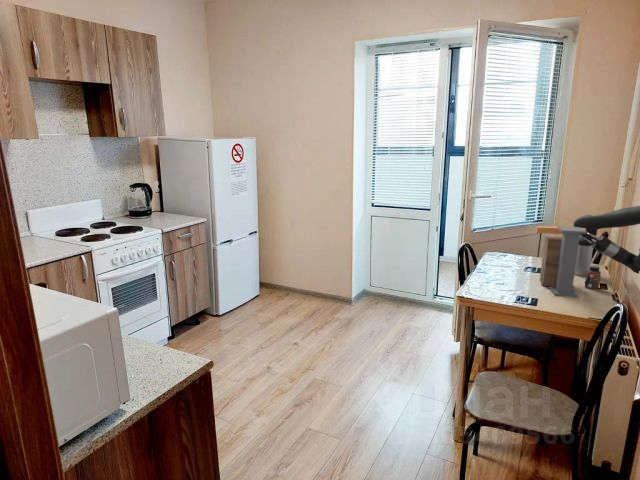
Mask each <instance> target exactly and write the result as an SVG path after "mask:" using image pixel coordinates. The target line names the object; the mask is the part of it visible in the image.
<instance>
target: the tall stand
mask: <svg viewBox="0 0 640 480" xmlns="http://www.w3.org/2000/svg"><path fill="white" fill-rule="evenodd" d="M557 227H558V229H559V230H560V231H561V232H562V233H563V234H561V236H562V242H561V250H560V258H559V266H558V274H557V282H556V287H549V288H550V291H551V292H552V294H553V296H559V297H567V296H568V298H569V297H570V298H578V294H577V293H576V291H575V290H574V288H573V287H574V280H575V267H576V259H577V252H578V245H579V237H580V234H586V231H585V230H584V229H582V228H580V227H574V226H561V225H560V226H557Z"/></svg>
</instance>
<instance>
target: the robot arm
mask: <svg viewBox="0 0 640 480" xmlns="http://www.w3.org/2000/svg"><path fill="white" fill-rule="evenodd" d="M636 225H640V205H637V206H630V207H624V208H620V209H616V210H612V211H608V212H606V213H602V214H597V215H591V214H585V215H581V216H580V217H577V218H576V219H575V220H574V222H573V225H572V227H580V228H585V229H586V234H580V237H579V245H578V252H577V259H576V267H575V274H574V276H584V277H586V275H587V271H588V270H589V269H590V266H592V265H591V264H592V257H593V250H595V251H597V252H599V253H600V254H602V255H603V256H606V257H608V258H610V259H612V260H614V261H615V262H617V263H620V264H622V265H623V266H626V267H627V268H628V269H629V270H630V271H632V272H633V273H636V274H640V273H639V271H640V248H639V253H638V255H636V254H634V253H633V252H631V251H628V250H627V249H625V248H624V247H622V246H620V245H619V244H618V243H616V242H614V241H613V240H611V239H610V238H608V237H606V236H604V235H600V236H597V234H598V230H601V229H610V228H623V227H632V226H636Z"/></svg>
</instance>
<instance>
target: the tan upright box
mask: <svg viewBox="0 0 640 480" xmlns="http://www.w3.org/2000/svg"><path fill="white" fill-rule="evenodd" d="M561 242H562V235H549V234H548V235H547V234H546V235H545V234H544V241H543V250H542V259H541V267H540V275H539V281H540V283H541V286H542V287H547V288H548V287H549V288H550V287H556V282H557V274H558V266H559V258H560V250H561Z"/></svg>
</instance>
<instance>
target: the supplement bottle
mask: <svg viewBox="0 0 640 480" xmlns="http://www.w3.org/2000/svg"><path fill="white" fill-rule="evenodd" d="M601 273H602V272H601V271H600V267H599V266H596V265H590V269H589V270H588V271H587V275H586V276H585V282H584V287H585V288H586V289H589V290H598V289H599V286H600V281H601Z"/></svg>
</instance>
